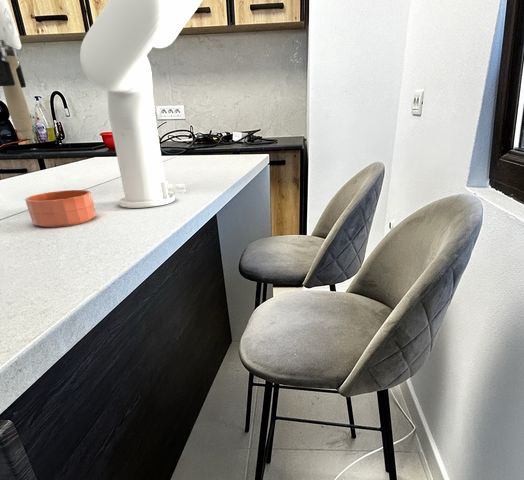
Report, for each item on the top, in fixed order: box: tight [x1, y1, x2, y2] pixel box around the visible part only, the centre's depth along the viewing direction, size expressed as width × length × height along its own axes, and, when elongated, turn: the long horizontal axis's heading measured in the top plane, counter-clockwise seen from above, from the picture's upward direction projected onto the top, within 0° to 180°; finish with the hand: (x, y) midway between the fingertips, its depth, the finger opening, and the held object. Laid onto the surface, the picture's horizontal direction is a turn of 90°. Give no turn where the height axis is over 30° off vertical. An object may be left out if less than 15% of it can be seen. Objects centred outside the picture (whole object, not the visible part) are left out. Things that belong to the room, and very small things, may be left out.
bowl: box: [24, 189, 97, 228], centre depth 86 cm, size 12×12×5 cm
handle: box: [2, 54, 35, 140], centre depth 91 cm, size 5×6×15 cm
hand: (12, 85), depth 90 cm, fingers closed on handle, 6 cm apart
